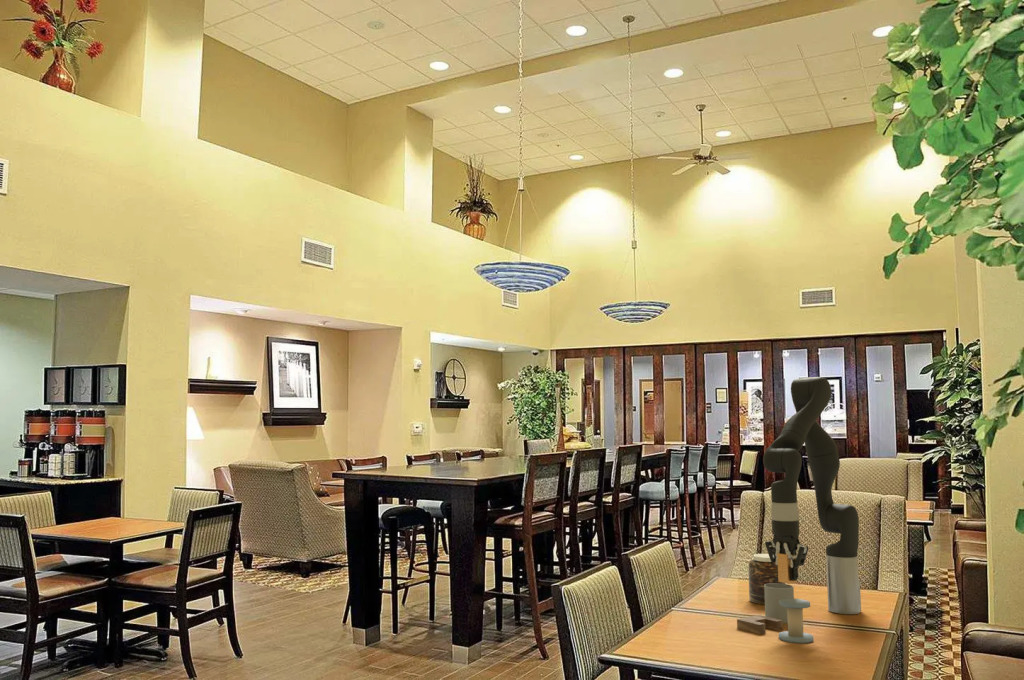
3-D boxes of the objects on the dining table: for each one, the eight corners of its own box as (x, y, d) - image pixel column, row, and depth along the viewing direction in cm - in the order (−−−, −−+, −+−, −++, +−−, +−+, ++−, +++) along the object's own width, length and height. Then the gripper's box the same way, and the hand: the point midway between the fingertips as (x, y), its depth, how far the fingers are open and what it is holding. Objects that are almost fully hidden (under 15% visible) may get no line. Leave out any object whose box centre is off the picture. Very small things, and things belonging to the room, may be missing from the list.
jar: (790, 600, 273) (788, 554, 275) (781, 607, 263) (779, 559, 265) (754, 596, 280) (753, 551, 281) (744, 602, 270) (743, 556, 271)
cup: (796, 623, 241) (795, 589, 242) (767, 622, 243) (766, 587, 244) (792, 617, 249) (791, 583, 250) (764, 616, 251) (763, 582, 252)
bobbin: (792, 633, 230) (791, 596, 231) (820, 640, 222) (819, 602, 223) (771, 637, 225) (770, 600, 226) (799, 645, 217) (798, 606, 218)
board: (760, 623, 241) (759, 615, 241) (782, 629, 234) (782, 620, 235) (737, 628, 235) (736, 619, 236) (759, 634, 229) (759, 624, 229)
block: (786, 580, 236) (785, 551, 236) (796, 582, 233) (795, 553, 233) (778, 581, 234) (777, 553, 234) (788, 583, 231) (787, 554, 231)
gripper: (814, 519, 231) (817, 581, 229) (774, 514, 243) (776, 574, 241) (796, 521, 227) (799, 585, 225) (756, 516, 239) (759, 577, 237)
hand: (787, 579), depth 233 cm, fingers closed on block, 3 cm apart
